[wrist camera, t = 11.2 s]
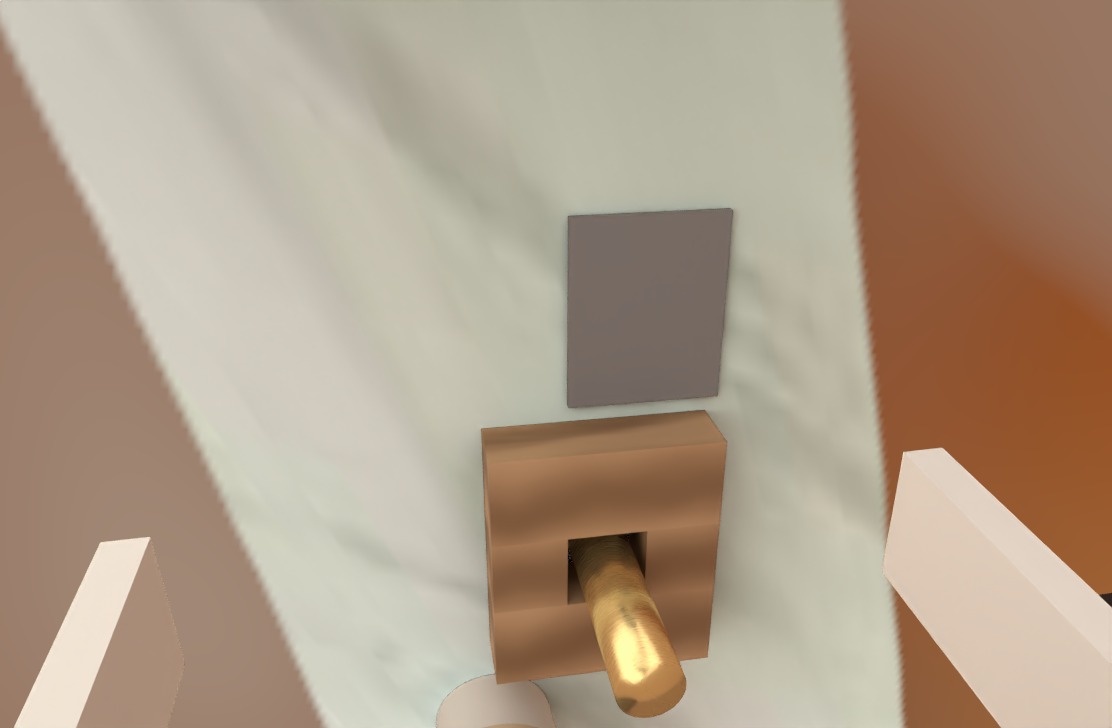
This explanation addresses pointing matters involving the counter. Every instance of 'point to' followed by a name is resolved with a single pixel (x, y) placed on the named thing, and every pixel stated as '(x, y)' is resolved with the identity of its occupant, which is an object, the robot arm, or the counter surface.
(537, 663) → the hole block
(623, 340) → the mat
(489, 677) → the coffee cup
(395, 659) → the counter surface
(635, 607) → the peg
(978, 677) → the robot arm
